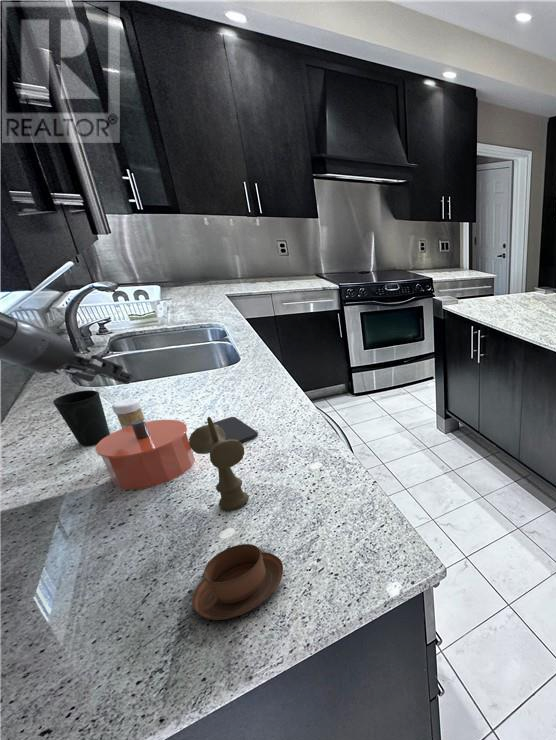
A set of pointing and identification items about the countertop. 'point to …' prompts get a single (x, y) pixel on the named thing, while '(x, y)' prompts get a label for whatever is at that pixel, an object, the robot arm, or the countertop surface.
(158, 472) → the pot
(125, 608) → the countertop surface
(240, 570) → the cup and saucer
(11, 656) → the countertop surface
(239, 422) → the phone
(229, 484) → the kendama
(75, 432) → the cup
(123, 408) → the sprinkles bottle
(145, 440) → the pot lid
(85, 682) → the countertop surface
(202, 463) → the countertop surface
